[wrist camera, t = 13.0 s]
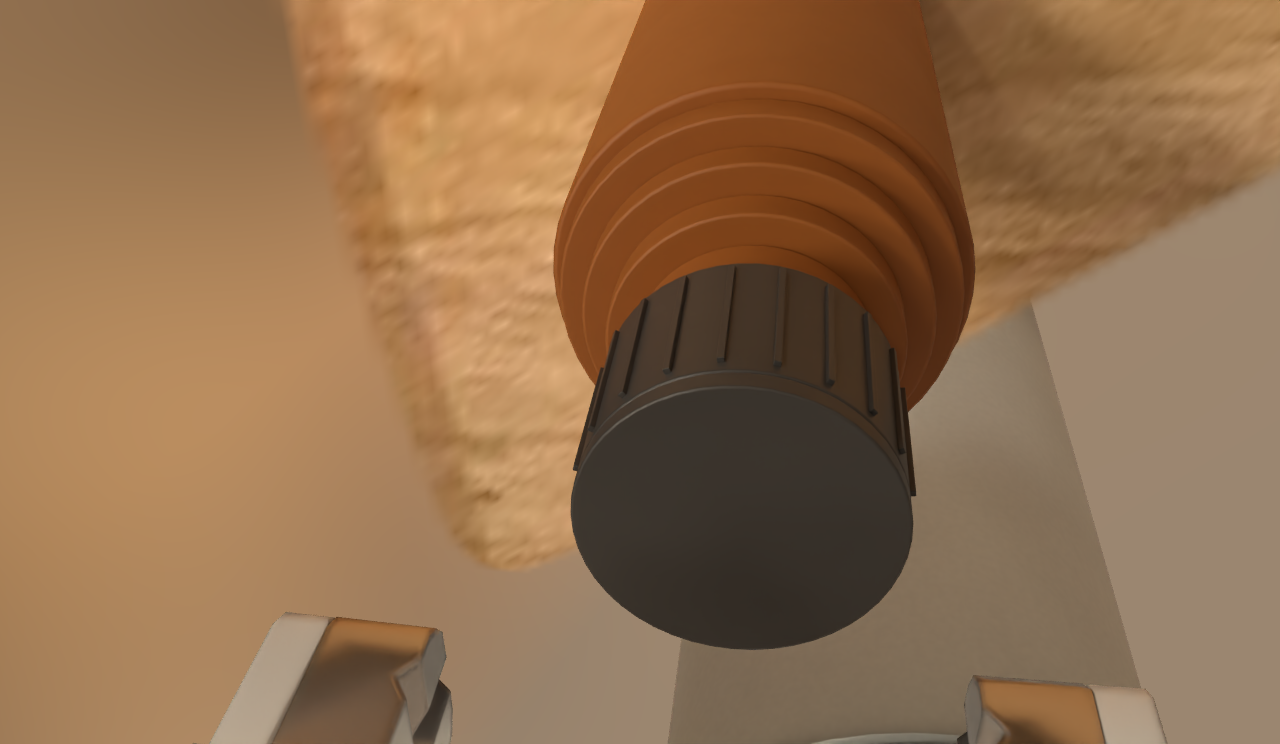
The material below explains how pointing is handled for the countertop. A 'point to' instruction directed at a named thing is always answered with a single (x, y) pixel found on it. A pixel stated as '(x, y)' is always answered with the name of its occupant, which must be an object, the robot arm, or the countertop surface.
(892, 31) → the bottle
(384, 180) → the countertop surface
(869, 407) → the cap
